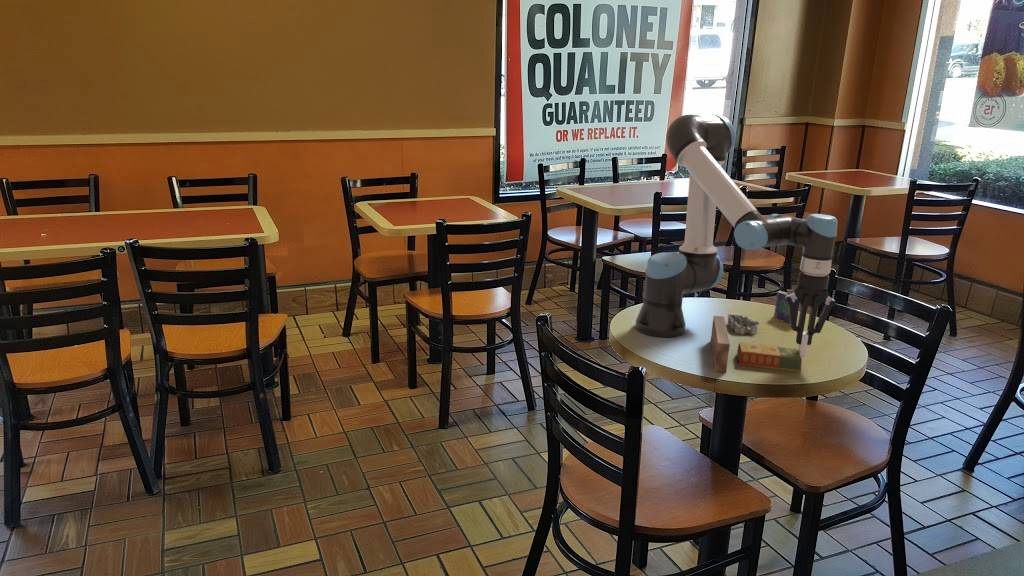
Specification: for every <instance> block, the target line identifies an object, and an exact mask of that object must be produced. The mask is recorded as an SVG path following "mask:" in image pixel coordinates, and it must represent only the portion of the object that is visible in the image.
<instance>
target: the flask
mask: <svg viewBox="0 0 1024 576" xmlns="http://www.w3.org/2000/svg"><path fill="white" fill-rule="evenodd" d="M786 291H787V292H785V291H782V290H778V291H777V292H776V301H775V307H774V314H773V318H775V319H776V318H777V320H779V319H780V321H781V320H783V321H782V322H784V323H787V324H789V325H790V324H791V323H790V314H789V306H788V302H787V300H786V298H785V295H787V294H788V295H790V294H792V293H793V291H794V289H786ZM793 303H794V308H795V317H796V326H798V318H799V310H800V302H799V300H798V299H797V297H795V301H794V302H793Z"/></svg>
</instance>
